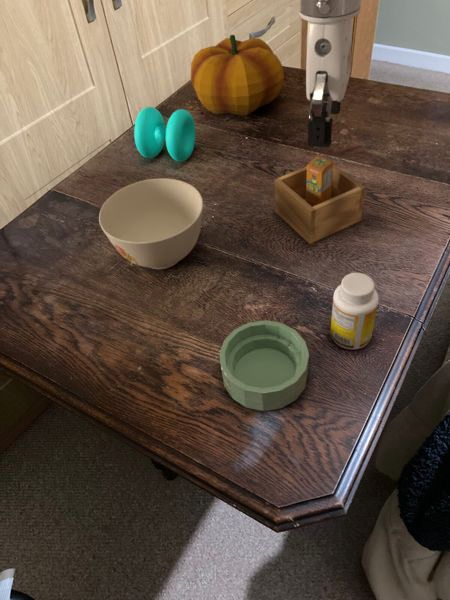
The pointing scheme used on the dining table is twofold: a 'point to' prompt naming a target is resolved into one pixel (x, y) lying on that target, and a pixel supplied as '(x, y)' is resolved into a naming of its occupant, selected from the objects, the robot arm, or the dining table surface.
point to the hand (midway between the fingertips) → (324, 128)
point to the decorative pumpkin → (236, 76)
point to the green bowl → (264, 365)
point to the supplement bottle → (354, 311)
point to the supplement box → (318, 181)
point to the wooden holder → (324, 215)
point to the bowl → (153, 221)
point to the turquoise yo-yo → (165, 134)
